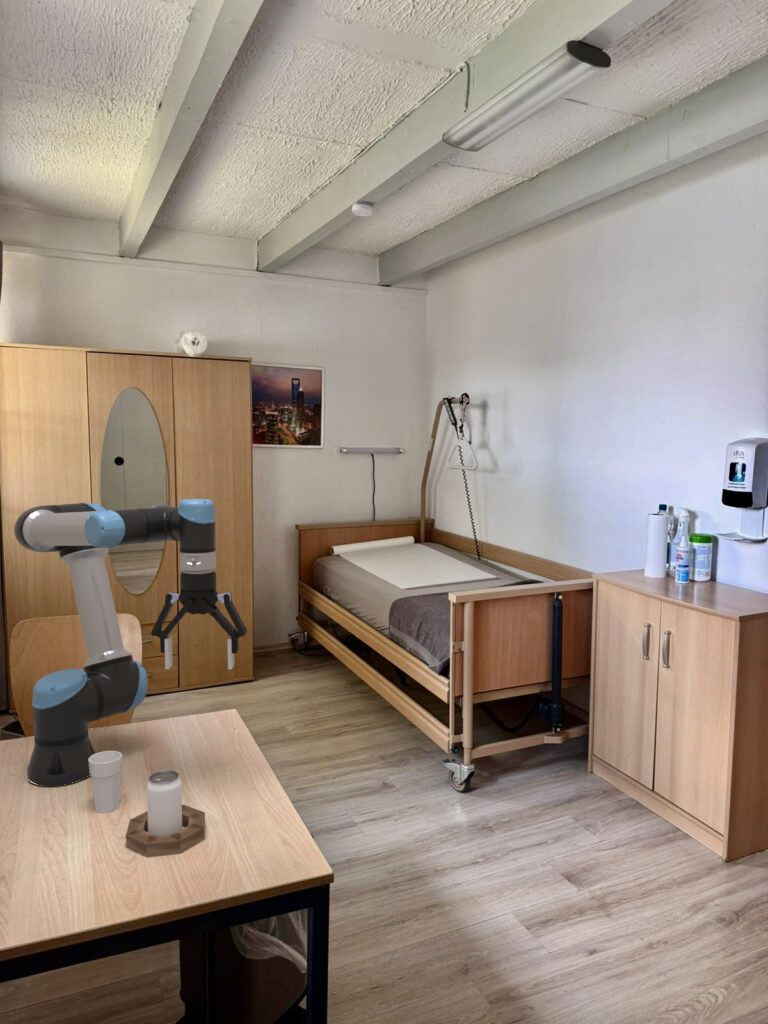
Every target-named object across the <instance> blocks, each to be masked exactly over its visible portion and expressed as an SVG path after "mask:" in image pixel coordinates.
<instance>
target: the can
mask: <svg viewBox="0 0 768 1024" xmlns="http://www.w3.org/2000/svg"><path fill="white" fill-rule="evenodd" d="M148 780H149V781H148V783H147V785H146V787H147V788H146V795H147V796H146V797H147V798H146V801H147V804H146V806H147V807H146V809H147V811H148V833H151V834H153V835H163V834H173V833H176V832H178V831H180V830H181V829H183V826H182V805H183V803H182V801H183V799H182V798H183V797H182V781H181V778H180V777H179V773H178V772H177V771H175V770H168V769H167V770H161V771H157V772H154V773H152V774H151V775H150V776H149V778H148Z"/></svg>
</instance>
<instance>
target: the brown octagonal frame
mask: <svg viewBox="0 0 768 1024" xmlns="http://www.w3.org/2000/svg"><path fill="white" fill-rule="evenodd" d="M205 830H206V813H205V811H202V810H199V809H197V808H194V807H191V806H189V805H186V804H182V829H181V830H180V831H178V832H176V833H173V834H163V835H153V834H151V833H148V810H147V811H145V812H143V813H141V814H139V815H136V816H134V817H133V818H131V819H129V821H128V826H127V830H126V833H125V846H126V847H125V848H126V849H128V850H131V851H133V852H135V853H138V854H139V855H141V856H144V857H146V858H151V857H161V856H167V855H168V856H170V855H179V854H182V853H184V852H185V851H187V850H188V849H191V848H192V847H194V846H195V845H197V844H199V843H201V842H202V841H204V840H205Z"/></svg>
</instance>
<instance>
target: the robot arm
mask: <svg viewBox="0 0 768 1024" xmlns="http://www.w3.org/2000/svg"><path fill="white" fill-rule="evenodd" d="M216 520H217V517H216V510H215V503H214V501H213V500H211V499H207V498H187V499H181V500H180V501H179V502H178V507H177V506H169V505H166V504H165V505H155V506H154V505H153V506H151V507H142V508H127V509H111V510H110V509H106V508H105V507H103V505H100V504H98V503H90V502H89V503H88V502H79V503H66V504H52V505H51V504H50V505H49V504H48V505H47V504H46V505H45V504H44V505H38V506H34V507H32V508H29V509H27V510H25V511H24V512H22V513H21V514H20V515H19V517H18V518H17V519H16V521H15V523H14V528H13V529H14V530H13V531H14V536H15V538H16V541H17V542H18V543H19V544H20V546H21V547H23V548H24V549H26V550H29V551H32V552H34V553H53V552H54V553H57V552H58V553H59V558H60V561H61V562H63V563H64V564H67V566H68V569H69V574H70V579H71V582H72V583H71V585H72V588H73V592H74V598H75V602H76V608H77V612H78V617H79V621H80V627H81V632H82V636H83V641H84V644H85V649H86V650H85V651H86V654H87V660H86V661H85V663H84V664H83V666H82V667H83V669H80V668H68V669H67V670H65V669H62V670H58V671H54V672H52V673H49V674H46V675H44V676H42V677H41V678H40V679H38V680H37V682H36V683H35V684H34V686H33V688H32V689H33V690H32V699H31V704H32V709H33V710H32V713H33V714H32V715H33V736H34V739H33V740H34V744H33V745H34V746H33V748H32V752H31V756H30V759H29V763H28V765H27V771H26V773H27V775H26V776H28V777H27V780H28V779H29V780H30V781H32V782H34V783H36V784H38V785H43V786H42V787H46V786H51V787H60V786H59V785H62V786H65V785H64V784H67V785H70V784H69V783H72V782H75V783H77V782H76V781H78V782H80V781H79V780H81V779H83V778H86V777H87V776H89V775H90V773H89V762H88V759H89V757H91V756H92V755H93V754H96V752H95V749H94V747H93V744H92V742H91V739H90V736H89V723H92V722H95V721H99V720H102V719H105V718H109V717H112V716H116V715H119V714H124V713H126V712H129V711H130V710H134V709H136V708H137V707H140V706H141V704H142V703H143V702H144V700H145V697H146V695H147V691H148V681H149V680H148V676H147V672H146V671H147V670H146V669H145V667H143V664H142V662H140V661H137V660H134V659H133V654H132V653H131V652H129V651H128V650H126V649H125V647H124V643H123V642H124V641H123V638H122V633H121V629H120V624H119V621H118V616H117V611H116V605H115V601H114V597H113V592H112V587H111V585H110V583H111V582H110V580H109V579H110V578H109V573H108V569H107V566H106V560H105V557H106V555H108V552H109V548H113V547H120V546H128V545H129V546H130V545H135V544H136V545H137V544H138V545H139V544H147V543H156V542H167V541H168V542H169V541H170V542H178V543H179V569H180V571H181V572H180V574H179V576H180V577H179V579H180V580H179V581H180V585H179V586H180V588H179V589H180V592H179V593H174V592H173V591H170V592H168V593H167V594H165V597H164V598H165V599H164V604H163V606H162V609H161V611H160V613H159V615H158V618H157V619H156V621H155V624H154V625H153V628H152V630H151V631H150V635H151V636H152V637H157V638H159V642H160V643H159V645H160V649H159V650H160V653H161V654H164V665H165V667H164V668H165V670H170V669H171V668H172V667H173V664H174V663H173V636H170V633H171V632H172V631H173V630H174V629H175V627H176V626H177V625H178V624H179V622H180V621H181V620H182V619H183V618H184V617H185V615H186V614H187V613H189V614H190V615H197V614H199V615H206V614H209V615H210V616H211V617H212V618H213V619H214V620H215V621H216V622H217V623H218V625H219V626H220V627H221V628H222V629H223V630H224V631H225V633H227V635H228V636H229V638H227V670H233V668H234V667H235V654H238V653H239V647H240V645H239V643H240V642H239V638H241V637H244V636H246V634H247V633H248V629H247V627H246V625H245V623H244V621H243V619H242V618H241V616H240V614H239V612H238V610H237V608H236V606H235V605H234V602H233V596H232V593H231V592H229V591H228V592H225V593H218V591H217V572H216V571H215V570H216V568H217V560H216V559H217V558H216V555H217V554H216V522H217V521H216ZM218 600H219V601H220V602H221V604H223V605H224V608H225V610H226V611H227V613H228V616H229V617H230V619H231V622H232V623H233V624H232V623H231V622H230V621H229V620H228V618H227V617H226V616H225V615H224V614H223V612H221V610H220V608H219V607H218V606H217V605H216V603H218ZM177 601H179V602H180V604H181V605H182V608H181V609H180V610H178V612H177V613H176V614H175V616H174V617H173V619H171V620H170V622H169V623H168V624H167V626H166V627H164V629H163V626H164V624H165V622H166V620H167V618H168V617H169V614H170V612H171V610H172V608H173V605H174V604H175V603H176V602H177ZM162 629H163V630H162ZM89 777H90V776H89ZM86 779H87V778H86ZM81 781H82V780H81ZM72 784H73V783H72ZM57 785H58V786H57Z"/></svg>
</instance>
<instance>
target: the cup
mask: <svg viewBox="0 0 768 1024" xmlns="http://www.w3.org/2000/svg"><path fill="white" fill-rule="evenodd" d="M88 762H89V773H90V775H91V776H90V777H91V780H92V792H93V794H92V795H93V806H94V807H93V808H94V812H97V813H100V814H105V813H110V812H115V810H117V809H118V808H120V793H121V792H120V791H121V790H120V785H121V771H122V768H123V754H122V753H121V752H120V751H117V750H104V751H100V752H95V754H93V755H92V756H91V757H89V759H88Z"/></svg>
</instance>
